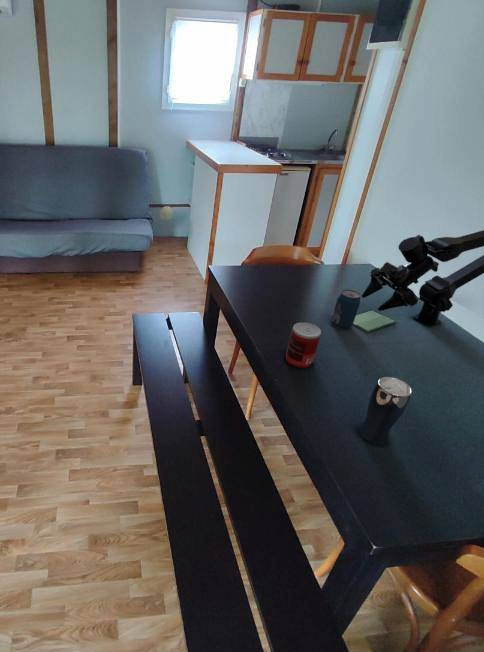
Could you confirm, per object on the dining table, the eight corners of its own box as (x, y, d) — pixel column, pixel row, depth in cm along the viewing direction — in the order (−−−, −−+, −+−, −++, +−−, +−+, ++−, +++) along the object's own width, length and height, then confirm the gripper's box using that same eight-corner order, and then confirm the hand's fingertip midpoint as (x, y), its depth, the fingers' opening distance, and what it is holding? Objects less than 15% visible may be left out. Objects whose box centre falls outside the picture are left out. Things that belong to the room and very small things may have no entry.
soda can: (353, 324, 139) (364, 292, 133) (349, 332, 134) (360, 300, 128) (332, 317, 142) (342, 286, 136) (327, 326, 138) (337, 294, 131)
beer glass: (351, 425, 99) (370, 376, 91) (378, 423, 99) (400, 375, 91) (366, 447, 93) (389, 397, 85) (395, 445, 94) (420, 396, 85)
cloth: (371, 311, 147) (372, 309, 147) (394, 322, 140) (395, 321, 140) (344, 319, 142) (345, 318, 141) (367, 332, 135) (367, 330, 135)
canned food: (312, 356, 123) (321, 324, 117) (312, 371, 117) (321, 339, 111) (285, 350, 125) (293, 320, 119) (284, 365, 119) (292, 333, 113)
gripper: (384, 244, 134) (343, 276, 139) (423, 266, 119) (376, 302, 123) (398, 265, 139) (358, 296, 144) (437, 289, 124) (391, 323, 129)
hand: (370, 303), depth 135 cm, fingers open, 9 cm apart
